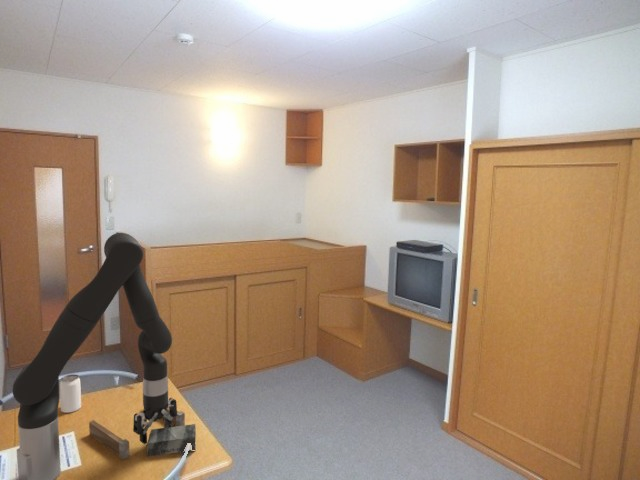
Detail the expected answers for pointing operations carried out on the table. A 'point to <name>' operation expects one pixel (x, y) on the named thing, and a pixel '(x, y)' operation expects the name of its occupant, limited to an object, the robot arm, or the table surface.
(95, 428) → the pair of wooden rails
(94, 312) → the robot arm
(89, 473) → the table surface
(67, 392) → the can
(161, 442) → the stone block
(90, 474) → the table surface
